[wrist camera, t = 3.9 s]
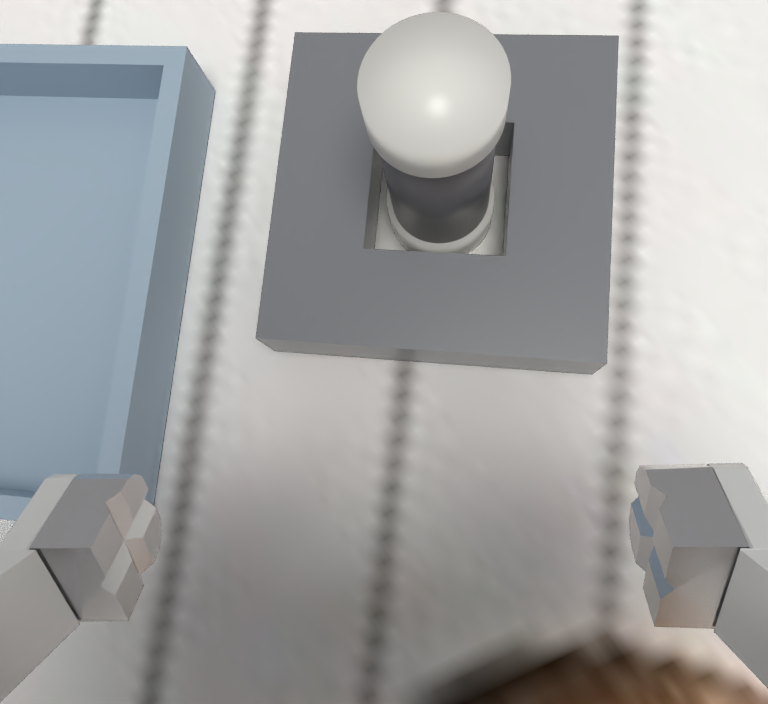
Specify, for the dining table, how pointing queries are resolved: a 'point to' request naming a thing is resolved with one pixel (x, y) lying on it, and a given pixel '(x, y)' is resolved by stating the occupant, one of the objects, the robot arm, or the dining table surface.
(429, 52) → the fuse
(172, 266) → the parts tray
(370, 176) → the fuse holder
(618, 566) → the dining table surface
